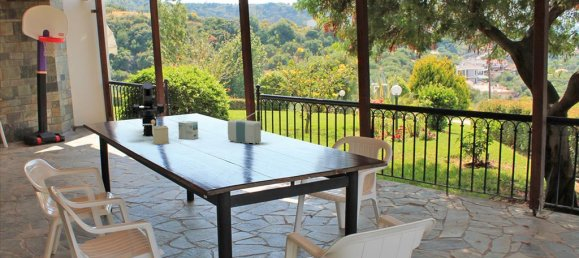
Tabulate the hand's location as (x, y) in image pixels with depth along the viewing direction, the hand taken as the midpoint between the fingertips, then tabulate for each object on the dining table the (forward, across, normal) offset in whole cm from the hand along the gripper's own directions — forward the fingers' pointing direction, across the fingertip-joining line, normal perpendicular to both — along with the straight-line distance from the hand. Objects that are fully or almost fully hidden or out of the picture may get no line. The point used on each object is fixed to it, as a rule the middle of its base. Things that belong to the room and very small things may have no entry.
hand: (148, 118), depth 339 cm
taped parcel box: (+23, +56, -1) cm, 61 cm away
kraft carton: (+13, +6, +7) cm, 16 cm away
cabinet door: (+10, +2, +3) cm, 11 cm away
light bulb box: (+5, +24, +15) cm, 29 cm away
